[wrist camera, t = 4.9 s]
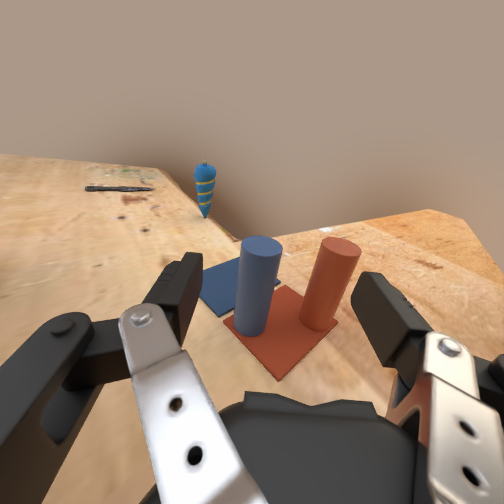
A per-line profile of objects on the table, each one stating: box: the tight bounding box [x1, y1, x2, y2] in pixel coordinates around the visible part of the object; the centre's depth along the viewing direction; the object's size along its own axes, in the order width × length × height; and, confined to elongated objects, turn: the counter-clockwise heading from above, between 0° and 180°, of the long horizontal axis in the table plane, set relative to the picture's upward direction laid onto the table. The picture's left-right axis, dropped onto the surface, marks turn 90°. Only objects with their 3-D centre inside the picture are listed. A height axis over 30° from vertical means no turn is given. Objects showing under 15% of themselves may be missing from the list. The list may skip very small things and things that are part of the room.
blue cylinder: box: [233, 236, 283, 337], centre depth 26 cm, size 4×4×12 cm
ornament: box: [194, 160, 216, 218], centre depth 55 cm, size 5×5×15 cm
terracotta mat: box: [223, 285, 338, 381], centre depth 30 cm, size 10×13×1 cm
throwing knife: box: [85, 186, 155, 191], centre depth 70 cm, size 4×20×1 cm, turn 113°
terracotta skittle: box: [299, 237, 361, 331], centre depth 28 cm, size 4×4×12 cm
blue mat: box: [199, 257, 281, 317], centre depth 37 cm, size 10×13×1 cm
